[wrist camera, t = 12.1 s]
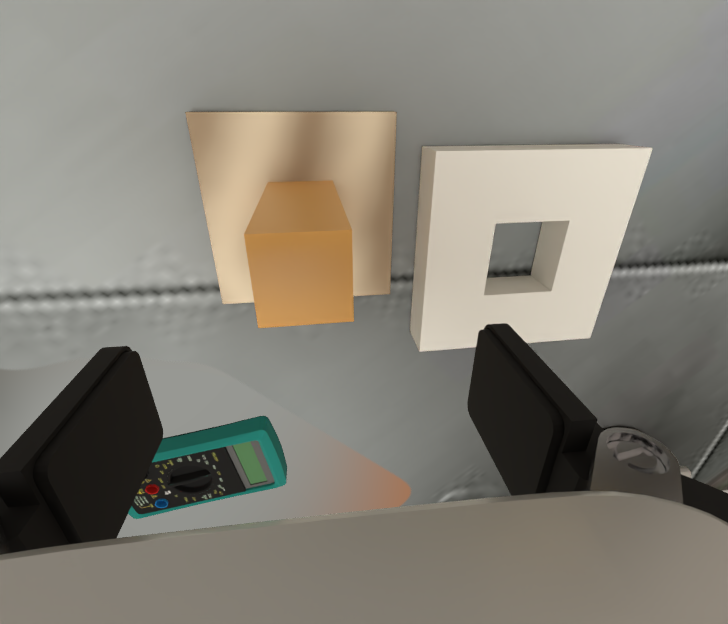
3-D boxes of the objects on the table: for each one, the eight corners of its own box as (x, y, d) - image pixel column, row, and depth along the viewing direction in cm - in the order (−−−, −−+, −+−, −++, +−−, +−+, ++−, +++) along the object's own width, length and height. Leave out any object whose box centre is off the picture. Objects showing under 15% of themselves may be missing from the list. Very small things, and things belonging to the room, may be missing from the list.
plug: (332, 180, 24) (352, 229, 15) (335, 241, 26) (353, 321, 16) (267, 182, 24) (243, 234, 14) (275, 244, 26) (258, 328, 16)
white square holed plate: (618, 143, 27) (652, 148, 24) (567, 319, 33) (590, 337, 31) (422, 146, 25) (436, 151, 22) (409, 331, 32) (419, 351, 29)
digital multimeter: (100, 446, 33) (83, 474, 31) (269, 409, 34) (266, 434, 31) (137, 498, 37) (125, 527, 34) (290, 464, 38) (289, 490, 35)
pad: (393, 111, 24) (396, 111, 23) (387, 288, 29) (389, 293, 28) (190, 112, 22) (185, 112, 21) (225, 297, 28) (222, 304, 27)
